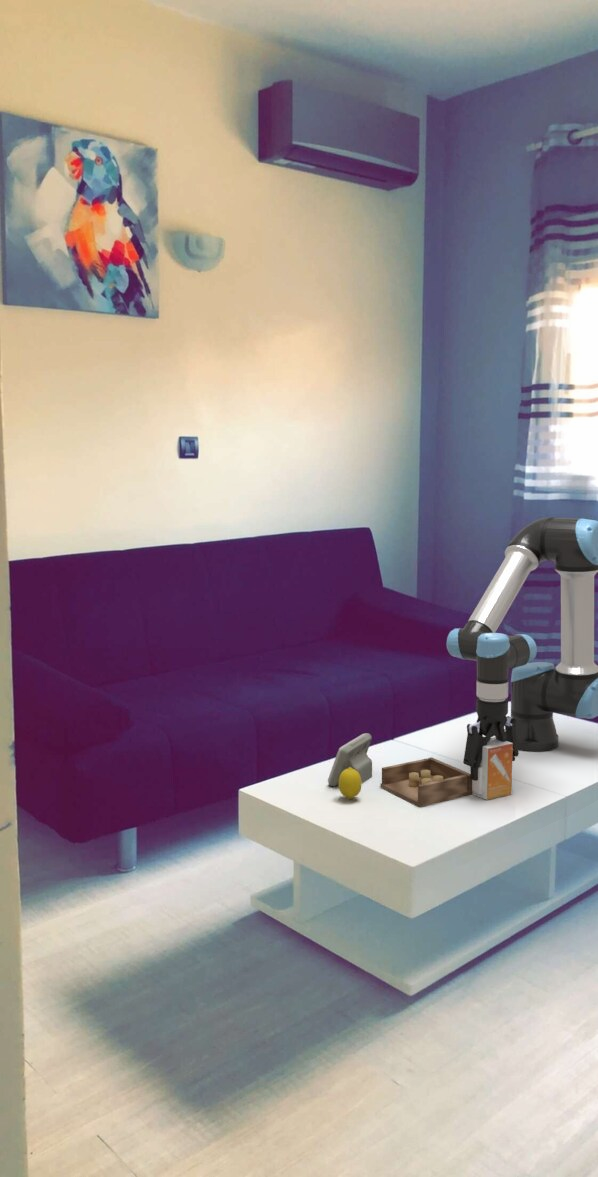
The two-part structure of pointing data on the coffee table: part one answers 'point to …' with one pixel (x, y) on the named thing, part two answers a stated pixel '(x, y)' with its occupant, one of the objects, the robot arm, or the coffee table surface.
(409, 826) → the coffee table surface
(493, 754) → the small box
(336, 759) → the digital clock
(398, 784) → the peg frame
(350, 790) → the lemon
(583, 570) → the robot arm
